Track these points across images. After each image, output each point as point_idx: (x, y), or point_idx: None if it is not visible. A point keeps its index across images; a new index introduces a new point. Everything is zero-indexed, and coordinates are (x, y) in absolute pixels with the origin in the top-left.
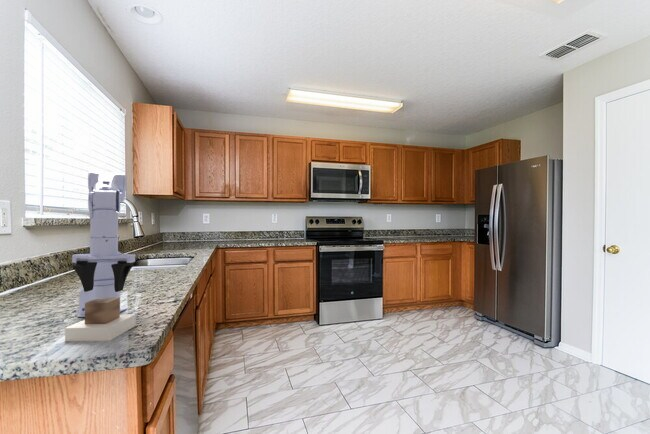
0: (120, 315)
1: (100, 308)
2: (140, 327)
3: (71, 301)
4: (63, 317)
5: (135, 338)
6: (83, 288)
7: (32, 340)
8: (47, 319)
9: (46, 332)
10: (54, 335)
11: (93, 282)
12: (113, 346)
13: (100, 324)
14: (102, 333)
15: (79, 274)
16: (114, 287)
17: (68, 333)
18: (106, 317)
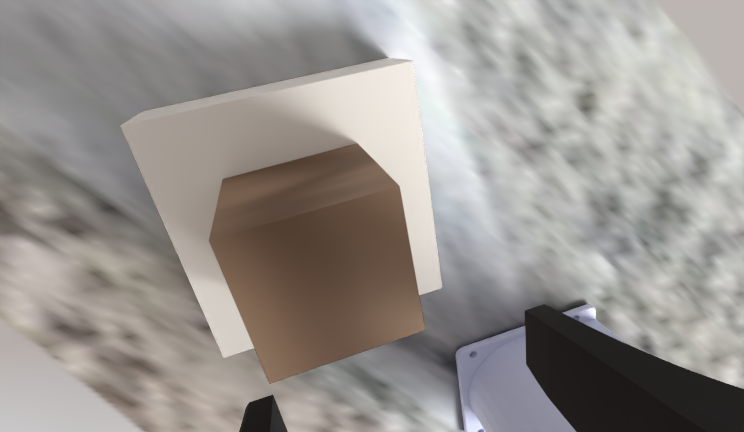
0: None
1: (261, 204)
2: (174, 306)
3: None
4: (638, 286)
5: (15, 177)
6: (565, 315)
7: (550, 34)
8: (679, 251)
9: (570, 134)
10: (505, 111)
11: (569, 421)
12: (10, 39)
13: (254, 164)
14: (177, 109)
15: (733, 400)
16: (267, 425)
17: (383, 63)
18: (219, 194)
